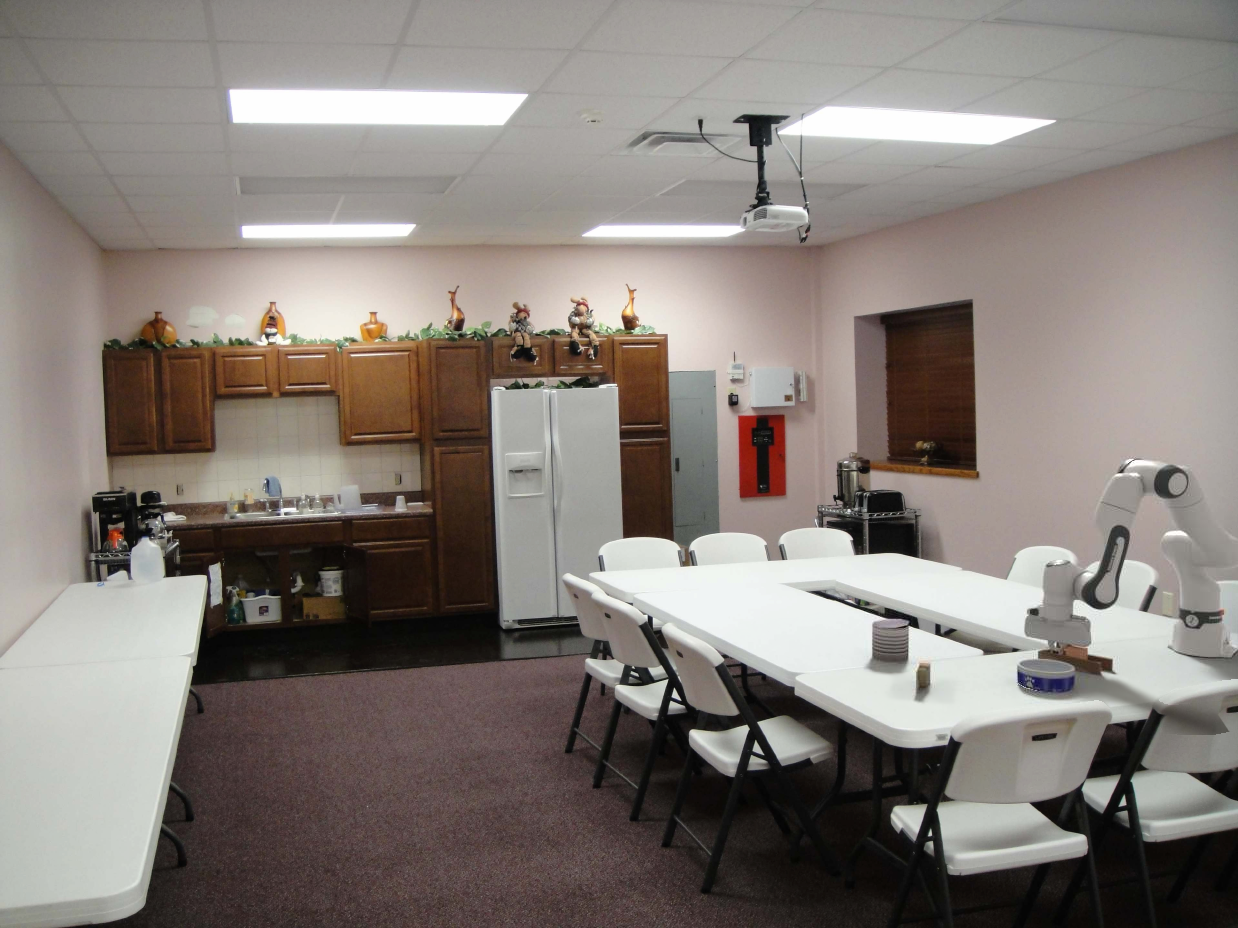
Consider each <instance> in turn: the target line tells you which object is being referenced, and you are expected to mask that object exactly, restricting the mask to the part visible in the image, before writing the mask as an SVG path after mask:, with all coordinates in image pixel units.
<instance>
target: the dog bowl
mask: <svg viewBox="0 0 1238 928" xmlns="http://www.w3.org/2000/svg"><path fill="white" fill-rule="evenodd" d="M1016 669H1017V670H1016V671H1017V672H1016V674H1017V675H1016V678H1017V679H1016V680H1017V684H1018V683H1019V684H1020V685H1022V686H1024V687H1026V688H1030V689H1033V690H1032V691H1034V690H1037V691H1036V692H1039V691H1043V692H1042V693H1048V692H1050V693H1051V694H1057V693H1067V692H1072V691H1073V690H1074V689H1075V678H1076V677H1075V675H1076V670H1075V668H1074V666H1072V665H1070V664H1068V663H1065V662H1061V661H1055V660H1048V659H1038V658H1029V659H1022V660H1018V662H1017V663H1016ZM1019 684H1018V685H1019ZM1020 685H1019V686H1020ZM1026 688H1025V689H1026Z"/></svg>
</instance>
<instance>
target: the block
mask: <svg viewBox="0 0 1238 928" xmlns="http://www.w3.org/2000/svg"><path fill="white" fill-rule="evenodd" d="M1088 652H1089V651H1088V646H1087V647H1079V646H1074V645H1072V646H1069V647H1066V656H1070V657H1075V658H1080V659H1085V660H1087V657H1088V654H1089V653H1088Z"/></svg>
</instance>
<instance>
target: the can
mask: <svg viewBox="0 0 1238 928" xmlns="http://www.w3.org/2000/svg"><path fill="white" fill-rule="evenodd" d="M909 623H910V621H909V620H907V619H902V618H884V619H881V620H875V621H873V622H872V624H871V626H872V627H871V628H872V633H871V634H872V636H871V637H872V638H871V639H872V640H871V641H872V642H871V646H872V647H871V654H872V655H871V658H872V659H873V660H874V661H877V662H881V663H887V664H899V663H901V664H902V663H905V662H907V661H909V649H910V647H909V641H910V639H909V638H910V636H909V635H910V634H909V632H910V626H909Z"/></svg>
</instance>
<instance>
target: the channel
mask: <svg viewBox="0 0 1238 928" xmlns="http://www.w3.org/2000/svg"><path fill="white" fill-rule="evenodd" d="M1055 648H1056V647H1055ZM1056 649H1057V650H1059V649H1060V648H1056ZM1037 659H1048V660H1055V661H1061V662H1065V663H1068V664H1070V665H1072V666H1074V668H1075V671H1078V672H1082V673H1087V674H1092V675H1097V676H1101V675H1102V670H1104V671H1105V670H1106V671H1110V672H1111V671H1113V670H1114V669H1113V666H1114V665H1113V663H1114V662H1113V661H1114V658H1112V657H1111V658H1110V657H1105V656H1100V655H1096V654H1095V655H1094V654H1091V653H1090V654H1089V653H1088V657H1087V660H1085V659H1080V658H1075V657H1070V656H1066V650H1065V649H1064V650H1063V655H1060V654H1055V653H1051V649H1050V648H1045V649H1040V650H1038V651H1037Z"/></svg>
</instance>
